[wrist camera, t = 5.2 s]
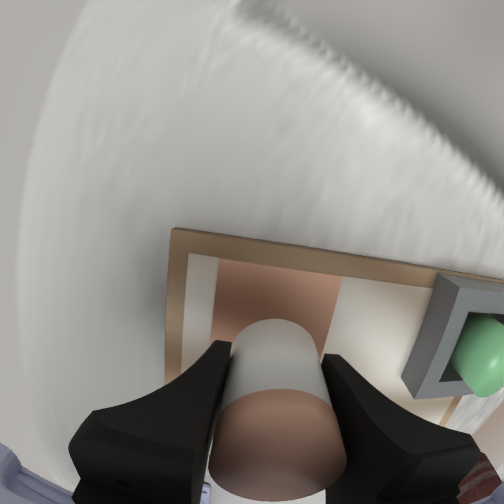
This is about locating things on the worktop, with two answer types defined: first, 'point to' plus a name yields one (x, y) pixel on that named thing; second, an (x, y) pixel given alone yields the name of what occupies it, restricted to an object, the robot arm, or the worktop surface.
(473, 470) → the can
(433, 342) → the button housing
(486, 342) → the button
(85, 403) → the worktop surface
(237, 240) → the board
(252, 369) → the marker
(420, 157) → the worktop surface
